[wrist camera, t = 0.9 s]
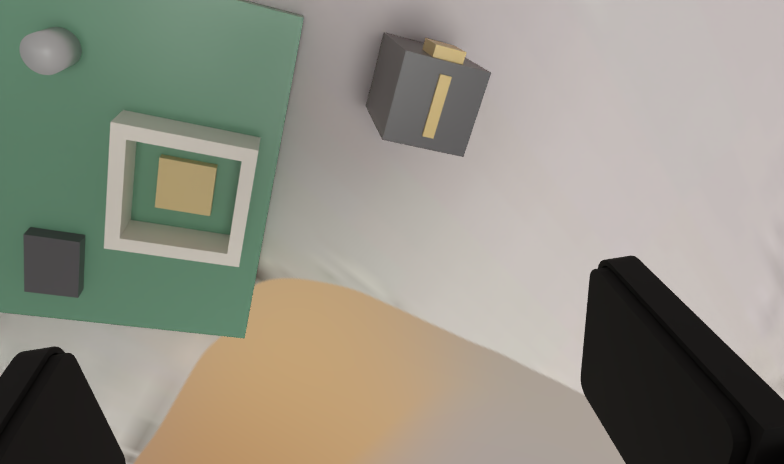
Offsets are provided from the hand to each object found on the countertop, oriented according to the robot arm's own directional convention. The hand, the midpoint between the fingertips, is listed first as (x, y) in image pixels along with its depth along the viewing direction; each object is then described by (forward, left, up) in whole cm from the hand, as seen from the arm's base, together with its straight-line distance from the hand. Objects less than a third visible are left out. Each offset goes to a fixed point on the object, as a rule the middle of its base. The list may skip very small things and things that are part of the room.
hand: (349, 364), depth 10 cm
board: (-8, +9, -26) cm, 28 cm away
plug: (+1, -6, -26) cm, 27 cm away
